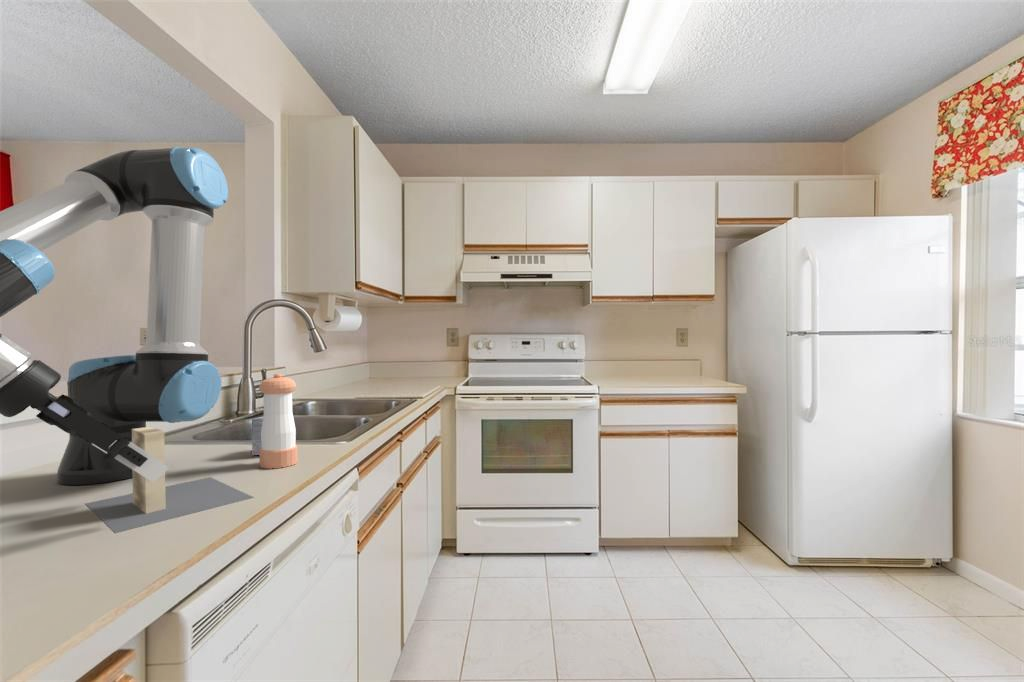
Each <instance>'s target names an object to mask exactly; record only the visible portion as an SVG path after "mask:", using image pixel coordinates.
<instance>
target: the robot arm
mask: <svg viewBox="0 0 1024 682" xmlns="http://www.w3.org/2000/svg"><path fill="white" fill-rule="evenodd" d="M228 198H229V186H228V182H227V178H226V176H225V174H224V172H223V170H222V169H221V167H220V165H219V163H218V161H216V160H215V158H213V156H211V154H209V153H208V152H206V151H205V150H203V149H201V148H197V147H189V146H187V147H182V146H174V147H169V148H168V147H167V148H157V149H156V148H155V149H153V148H152V149H151V148H150V149H134V150H133V149H132V150H131V149H130V150H125V151H121V152H118V153H115V154H112V155H109V156H107V157H104V158H102V159H99V160H97V161H95V162H92V163H90V164H88V165H85V166H84V167H81V168H80V169H77V170H75V171H72V172H70V173H68V174H67V175H66V177H65V179H64V182H63V183H62V184H58V185H57V186H55V187H53V188H50V189H47V190H46V191H43V192H41V193H39V194H37V195H34V196H32V197H30V198H28V199H26V200H22V201H20V202H19V203H17V204H14V205H12V206H9V207H7V208H5V209H3V210H1V211H0V318H1V317H3V316H5V315H6V314H7V313H9V312H11V311H12V310H14V309H15V308H16V307H18V306H20V305H21V304H23V303H24V302H26V301H28V300H29V299H30V298H32V297H33V296H36V295H38V294H39V293H40V291H42V289H44V288H46V286H48V285H49V284H50V283H52V281H54V279H55V276H56V270H55V266H54V265H53V263H52V262H51V260H50V259H49V258H48V257H47V256H46V254H45V253H44V251H45V250H46V249H49V248H51V246H53V245H55V244H58V243H59V242H61V241H62V240H65V239H67V238H68V237H70V236H73V235H75V234H76V233H78V232H79V231H81V230H83V229H85V228H87V227H89V226H90V225H92V224H93V223H96V222H98V221H99V220H100V221H105V222H106V221H111V220H114V219H116V218H117V217H119V216H122V215H125V214H129V213H130V214H131V213H135V212H136V213H137V212H143V214H145V216H147V218H149V220H150V221H151V232H150V233H151V235H150V255H149V258H150V261H149V276H148V277H149V279H148V280H149V281H148V297H147V298H148V299H147V301H148V302H147V319H146V320H147V321H146V322H147V323H146V324H147V325H146V343H145V344H144V345H143V346H142V347H140V348H139V349H138V350H136V351H135V354H130V355H129V354H128V355H117V356H116V355H115V356H106V357H97V358H89V359H84V360H78V361H76V362H74V363H72V364H71V365H70V367H69V368H68V377H67V378H68V379H67V381H66V385H67V395H65V394H64V393H62V394H61V395H60V396H57V397H56V396H55V395H54V394H52V393H51V392H49V391H50V390H52V389H53V388H54V387H56V385H58V383H59V382H60V380H61V378H62V376H61V374H60V372H58V371H56V370H55V369H53V367H50V366H49V365H47V364H46V363H44V362H43V361H41V360H37V359H34V360H31V358H32V353H30V352H29V351H28V350H26V349H25V348H23V347H22V346H21V345H19V344H17V343H16V342H14V341H13V340H11V339H9V338H8V337H7V336H6V335H3V334H1V333H0V415H2V416H3V417H5V418H12V417H15V416H17V415H19V414H21V413H23V412H24V411H26V410H27V409H28V408H29V407H30V408H31V409H33V410H37V411H38V413H37V414H36V416H35V417H36V418H38V419H40V420H41V421H43V422H45V423H46V424H48V425H50V426H55V427H57V428H59V429H60V430H61V431H63V432H65V433H67V434H68V435H69V438H68V442H67V444H66V447H65V451H64V452H63V456H62V458H61V461H60V463H59V466H58V467H57V483H59V484H61V485H68V486H75V485H76V486H77V485H78V486H79V485H81V486H82V485H93V484H102V483H109V482H115V481H121V480H125V479H126V480H127V479H130V478H131V479H132V478H133V472H132V470H134V471H136V472H137V473H139V474H141V475H142V476H144V477H145V478H147V479H149V480H150V481H152V482H153V483H155V482H156V481H157V480H158V479H159V478H160V477H161V476H162V475H163V473H164V472H165V473H166V472H167V471H168V469H169V468H170V466H169V465H168V464H166V463H165V464H164V463H163V462H161V461H160V460H158V459H156V458H155V457H153V456H152V455H150V454H149V453H147V452H146V451H144V450H143V449H141V448H140V447H138V446H137V445H135V444H133V443H132V429H136V428H144V427H147V423H152V422H155V423H159V422H160V423H162V422H163V423H170V424H175V423H181V422H183V423H184V422H194V421H197V420H199V419H201V418H203V417H205V416H206V415H207V414H208V413H209V412H210V411H211V409H212V408H214V407H215V405H216V403H217V402H218V399H219V397H220V394H221V390H222V378H221V377H222V376H221V373H219V372H218V368H217V366H215V365H214V364H213V363H211V362H209V352H208V351H207V350H205V349H204V348H203V347H202V346H201V344H200V343H201V321H202V319H201V317H202V295H203V271H204V269H203V268H204V267H203V266H204V247H205V246H204V243H205V241H204V240H205V229H206V228H207V227H209V226H210V225H212V223H214V215H215V214H214V211H215V209H216V210H217V209H219V208H221V207H223V206H224V204H226V203H227V200H228Z"/></svg>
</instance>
